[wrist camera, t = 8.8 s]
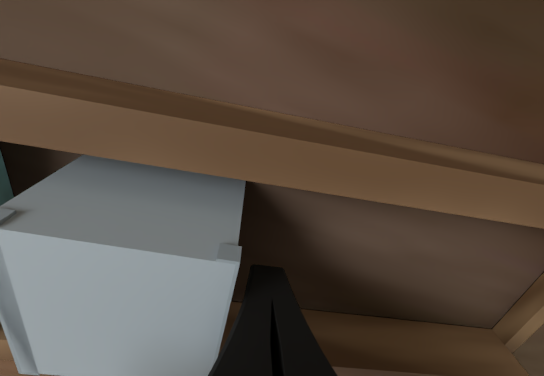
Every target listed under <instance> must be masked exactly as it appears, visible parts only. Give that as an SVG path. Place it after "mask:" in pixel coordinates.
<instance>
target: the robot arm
mask: <svg viewBox="0 0 544 376" xmlns="http://www.w3.org/2000/svg"><path fill="white" fill-rule="evenodd" d="M208 376H338V375H337V374H336V372H335V371H334V369H333V368H332V366H331V364H330V363H329V361H328V360H327V358H326V356H325V355H324V353H323V351H322V349H321V348H320V346H319V344H318V342H317V340H316V339H315V337H314V335H313V333H312V331H311V329H310V327H309V326H308V324H307V322H306V320H305V317H304V315H303V313H302V311H301V309H300V307H299V305H298V303H297V301H296V298H295V296H294V294H293V291H292V289H291V287H290V284H289V281H288V279H287V276H286V273H285V271H284V269H283V268H279V267H271V266H263V265H255V264H254V265H252V266H251V267H250V272H249V277H248V281H247V286H246V290H245V295H244V299H243V302H242V305H241V307H240V310H239V313H238V315H237V317H236V320H235V322H234V324H233V326H232V329H231V331H230V333H229V335H228V338H227V340H226V342H225V344H224V346H223V348H222V350H221V352H220V354H219V356H218V358H217V360H216V361H215V363H214V365H213V367H212V369H211V371H210V372H209V374H208Z"/></svg>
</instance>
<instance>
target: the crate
mask: <svg viewBox="0 0 544 376" xmlns="http://www.w3.org/2000/svg"><path fill="white" fill-rule="evenodd" d="M245 183H246V181H245V180H239V179H233V178H227V177H220V176H214V175H208V174H202V173H196V172H189V171H183V170H177V169H171V168H165V167H158V166H152V165H146V164H140V163H134V162H127V161H121V160H115V159H109V158H102V157H96V156H90V155H82V156H80V157H79V158H77V159H76V160H74V161H72V162H71V163H69V164H67V165H66V166H64V167H63V168H61V169H59V170H58V171H56V172H55V173H53V174H51V175H50V176H48V177H46V178H45V179H43V180H42V181H40V182H38V183H37V184H35V185H34V186H32V187H30V188H29V189H27V190H25V191H24V192H22V193H21V194H19V195H17V196H16V197H14V198H13V199H11V200H9V201H8V202H6V203H4V204H3V205H1V206H0V322H1V325H2V328H3V330H4V333H5V336H6V339H7V341H8V344H9V347H10V350H11V353H12V355H13V358H14V361H15V364H16V366H17V369H18V372H19V374H30V375H40V374H49V375H61V376H208V374H209V372H210V371H211V369H212V367H213V365H214V363H215V361H216V360H217V358H218V353H219V349H220V345H221V341H222V337H223V333H224V328H225V324H226V320H227V316H228V312H229V307H230V303H231V299H232V295H233V291H234V286H235V282H236V278H237V274H238V270H239V265H240V260H241V250H242V246H238V241H239V233H240V225H241V216H242V208H243V200H244V192H245Z"/></svg>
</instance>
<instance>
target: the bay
mask: <svg viewBox="0 0 544 376" xmlns="http://www.w3.org/2000/svg"><path fill="white" fill-rule="evenodd" d="M0 141H3V142H9V143H16V144H22V145H28V146H34V147H40V148H47V149H53V150H59V151H65V152H71V153H78V154H84V155H90V156H96V157H102V158H109V159H115V160H121V161H127V162H134V163H140V164H146V165H152V166H158V167H165V168H171V169H177V170H183V171H189V172H196V173H202V174H208V175H214V176H220V177H227V178H233V179H239V180H245V181H251V182H258V183H264V184H270V185H276V186H282V187H289V188H295V189H301V190H307V191H313V192H320V193H326V194H332V195H338V196H344V197H351V198H357V199H363V200H369V201H375V202H382V203H388V204H394V205H400V206H406V207H413V208H419V209H425V210H431V211H437V212H444V213H450V214H456V215H462V216H469V217H475V218H481V219H487V220H493V221H500V222H506V223H512V224H518V225H524V226H531V227H537V228H543V229H544V164H540V163H535V162H530V161H525V160H519V159H514V158H509V157H504V156H499V155H494V154H489V153H483V152H478V151H473V150H468V149H463V148H458V147H453V146H448V145H442V144H437V143H432V142H427V141H422V140H417V139H412V138H406V137H401V136H396V135H391V134H386V133H381V132H376V131H370V130H365V129H360V128H355V127H350V126H345V125H340V124H334V123H329V122H324V121H319V120H314V119H309V118H304V117H298V116H293V115H288V114H283V113H278V112H273V111H268V110H262V109H257V108H252V107H247V106H242V105H237V104H232V103H226V102H221V101H216V100H211V99H206V98H201V97H196V96H191V95H185V94H180V93H175V92H170V91H165V90H160V89H155V88H149V87H144V86H139V85H134V84H129V83H124V82H119V81H113V80H108V79H103V78H98V77H93V76H88V75H83V74H77V73H72V72H67V71H62V70H57V69H52V68H47V67H41V66H36V65H31V64H26V63H21V62H16V61H11V60H5V59H0ZM13 198H14V196H13V192H12V189H11V185H10V182H9V178H8V175H7V171H6V168H5V164H4V161H3V157H2V154H1V150H0V206H1V205H3V204H4V203H6V202H8V201H9V200H11V199H13ZM241 305H242V303H240V302H231V303H230V307H229V312H228V316H227V320H226V324H225V328H224V333H223V337H222V341H221V345H220V349H219V353H218V356H219V354H220V352H221V350H222V348H223V346H224V344H225V342H226V340H227V338H228V335H229V333H230V331H231V329H232V326H233V324H234V322H235V320H236V317H237V315H238V313H239V310H240V307H241ZM301 311H302V313H303V315H304V317H305V320H306V322H307V324H308V326H309V327H310V329H311V331H312V333H313V335H314V337H315V339H316V340H317V342H318V344H319V346H320V348H321V349H322V351H323V353H324V355H325V356H326V358H327V360H328V361H329V363H330V364H331V366H332V368H333V369H334V371H335V372H336V374H337V375H338V376H529V375H528V373H527V372H526V371H525V370H524V368H523V367H522V366H521V365H520V363H519V362H518V361H517V360H516V358H515V357H514V356H513V355H512V353H514V352H515V351H516V350H517V349H518V348H519V347H520V346H521V345H522V344H523V343H524V342H525V341H526V340H527V339H528V338H529V337H530V336H531V335H532V334H533V333H534V332H535V331H536V330H537V329H538V328H539V327H540V326H541V325H542V324H543V323H544V273H543V274H542V275H541V276H540V277H539V278H538V279H537V280H536V281H535V282H534V284H533V285H532V286H531V287H530V288H529V289H528V290H527V291H526V292H525V293H524V295H523V296H522V297H521V298H520V299H519V300H518V301H517V302H516V303H515V304H514V306H513V307H512V308H511V309H510V310H509V311H508V312H507V313H506V314H505V315H504V317H503V318H502V319H501V320H500V321H499V322H498V323H497V324H496V325H495V327H494V328H493V329H485V328H475V327H466V326H457V325H447V324H438V323H428V322H419V321H410V320H400V319H391V318H381V317H372V316H363V315H353V314H344V313H334V312H325V311H315V310H306V309H301ZM0 360H8V361H14V358H13V355H12V353H11V350H10V347H9V344H8V341H7V339H6V336H5V333H4V330H3V328H2V325H1V322H0Z"/></svg>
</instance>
